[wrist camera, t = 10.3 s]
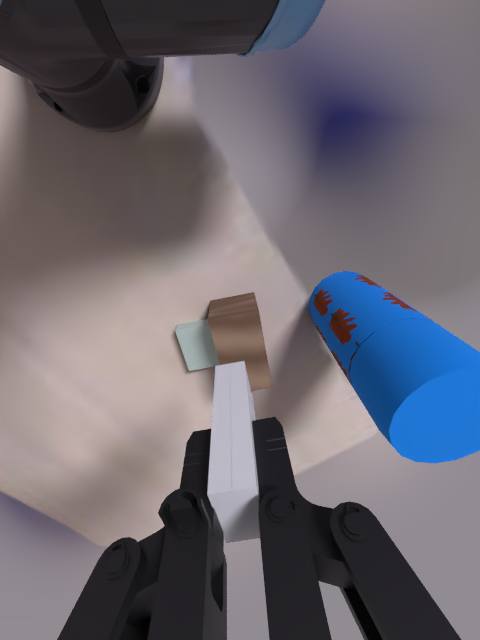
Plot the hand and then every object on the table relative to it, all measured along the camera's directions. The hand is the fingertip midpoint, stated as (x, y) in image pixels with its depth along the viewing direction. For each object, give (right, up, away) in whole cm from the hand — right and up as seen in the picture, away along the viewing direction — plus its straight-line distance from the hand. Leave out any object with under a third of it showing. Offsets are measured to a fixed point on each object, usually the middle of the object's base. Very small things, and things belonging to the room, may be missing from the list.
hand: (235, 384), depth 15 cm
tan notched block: (0, +1, +32) cm, 32 cm away
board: (-4, 0, +33) cm, 33 cm away
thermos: (+17, +6, +31) cm, 35 cm away
